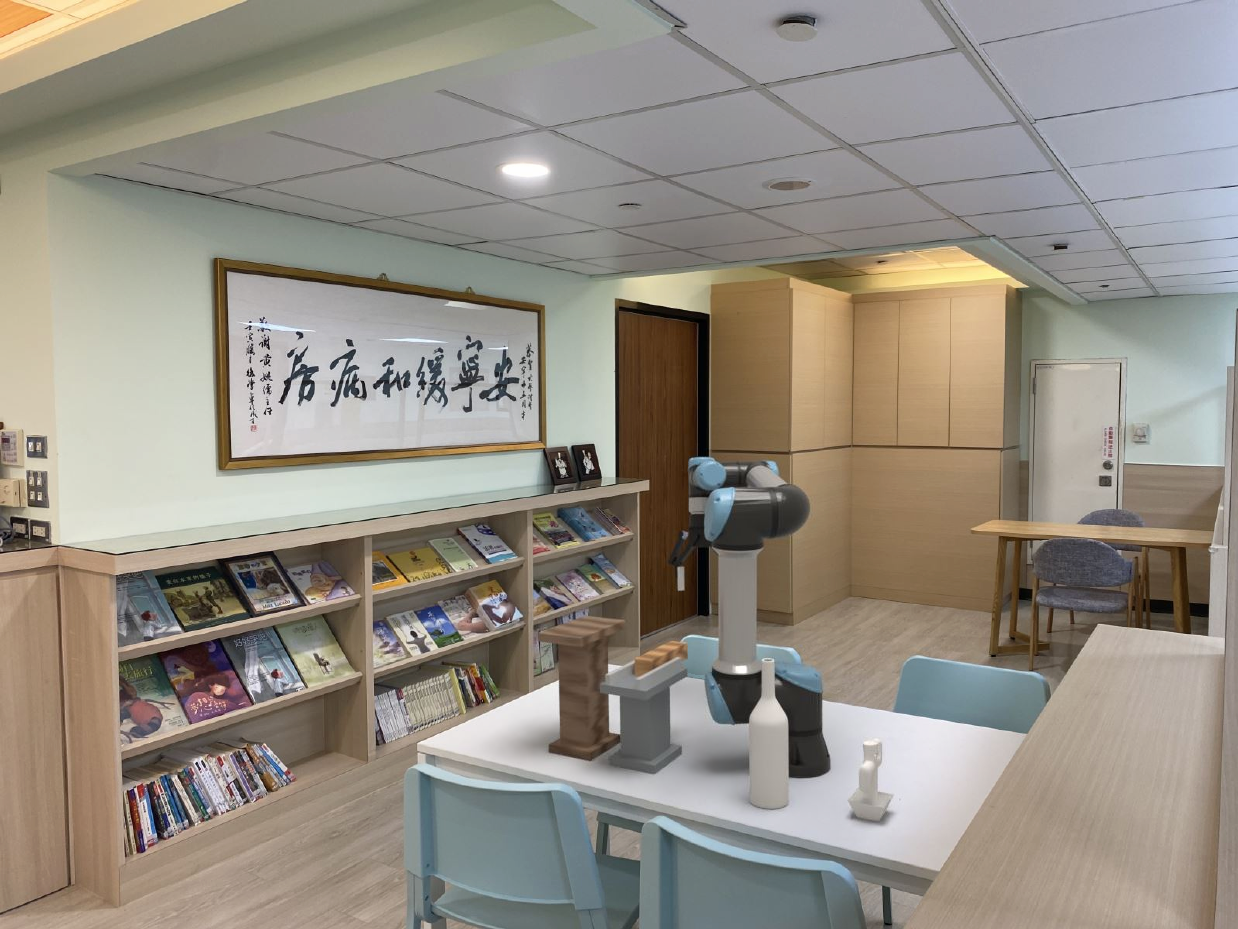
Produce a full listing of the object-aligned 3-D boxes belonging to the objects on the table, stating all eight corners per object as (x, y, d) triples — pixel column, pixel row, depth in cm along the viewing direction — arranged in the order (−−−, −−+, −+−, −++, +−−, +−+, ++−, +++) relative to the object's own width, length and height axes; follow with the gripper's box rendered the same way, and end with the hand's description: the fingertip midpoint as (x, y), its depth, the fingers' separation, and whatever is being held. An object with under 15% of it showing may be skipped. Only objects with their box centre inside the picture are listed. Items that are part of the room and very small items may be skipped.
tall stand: (587, 730, 235) (585, 615, 234) (627, 738, 229) (625, 620, 228) (540, 757, 217) (537, 633, 215) (582, 766, 211) (580, 638, 209)
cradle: (644, 741, 227) (643, 652, 225) (688, 749, 221) (687, 658, 219) (601, 770, 208) (599, 673, 207) (647, 779, 202) (645, 680, 201)
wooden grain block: (671, 656, 231) (671, 640, 230) (687, 658, 228) (687, 642, 228) (634, 675, 214) (634, 658, 214) (652, 677, 212) (651, 660, 212)
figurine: (845, 820, 181) (845, 746, 180) (860, 803, 189) (859, 731, 188) (882, 828, 177) (882, 752, 176) (895, 810, 185) (895, 738, 184)
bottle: (796, 803, 189) (795, 661, 187) (766, 813, 185) (765, 667, 183) (771, 790, 196) (770, 652, 194) (741, 799, 191) (740, 658, 190)
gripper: (750, 512, 248) (751, 591, 246) (667, 514, 260) (668, 589, 258) (740, 512, 241) (741, 592, 240) (656, 514, 253) (656, 590, 252)
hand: (703, 591), depth 249 cm, fingers open, 13 cm apart
